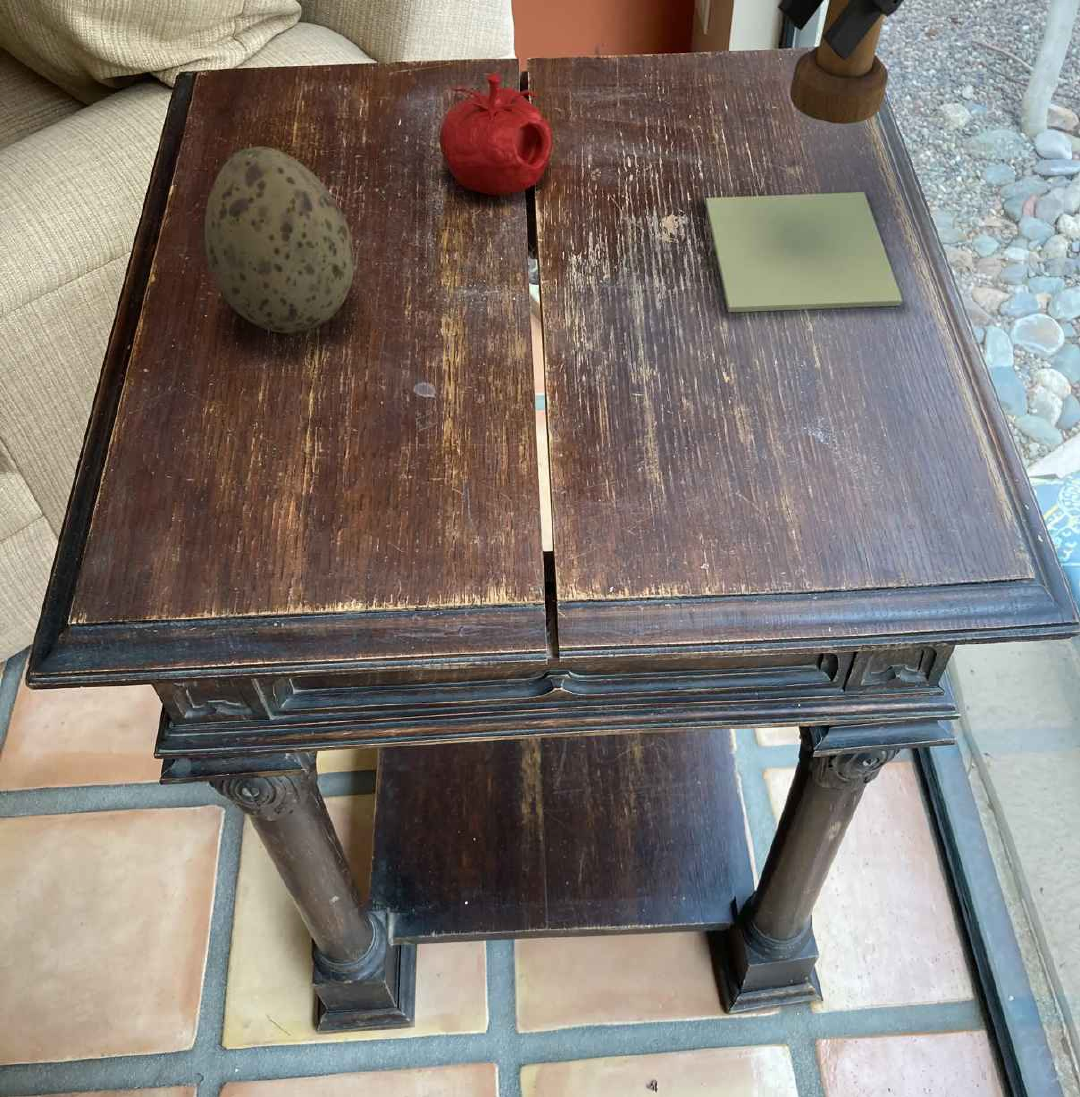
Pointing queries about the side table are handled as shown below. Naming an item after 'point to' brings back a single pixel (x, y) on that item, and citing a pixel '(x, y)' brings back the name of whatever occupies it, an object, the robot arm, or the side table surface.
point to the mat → (800, 252)
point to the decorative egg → (277, 242)
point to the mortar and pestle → (840, 77)
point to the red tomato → (496, 140)
